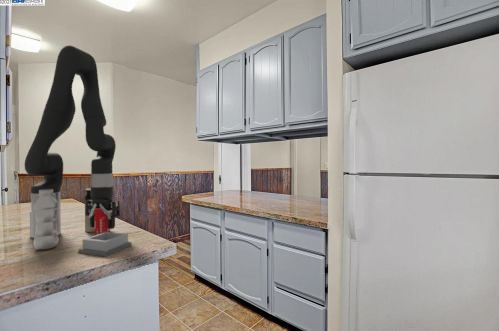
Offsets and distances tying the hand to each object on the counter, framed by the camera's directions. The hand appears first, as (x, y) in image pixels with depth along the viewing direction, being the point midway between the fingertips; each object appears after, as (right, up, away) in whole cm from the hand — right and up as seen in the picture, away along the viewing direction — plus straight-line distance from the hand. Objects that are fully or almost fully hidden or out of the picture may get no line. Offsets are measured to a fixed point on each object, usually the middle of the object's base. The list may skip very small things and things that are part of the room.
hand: (102, 227), depth 97 cm
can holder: (+8, -4, -12) cm, 15 cm away
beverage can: (0, -4, 0) cm, 4 cm away
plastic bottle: (-12, -5, -11) cm, 17 cm away
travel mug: (-10, -4, +12) cm, 16 cm away
